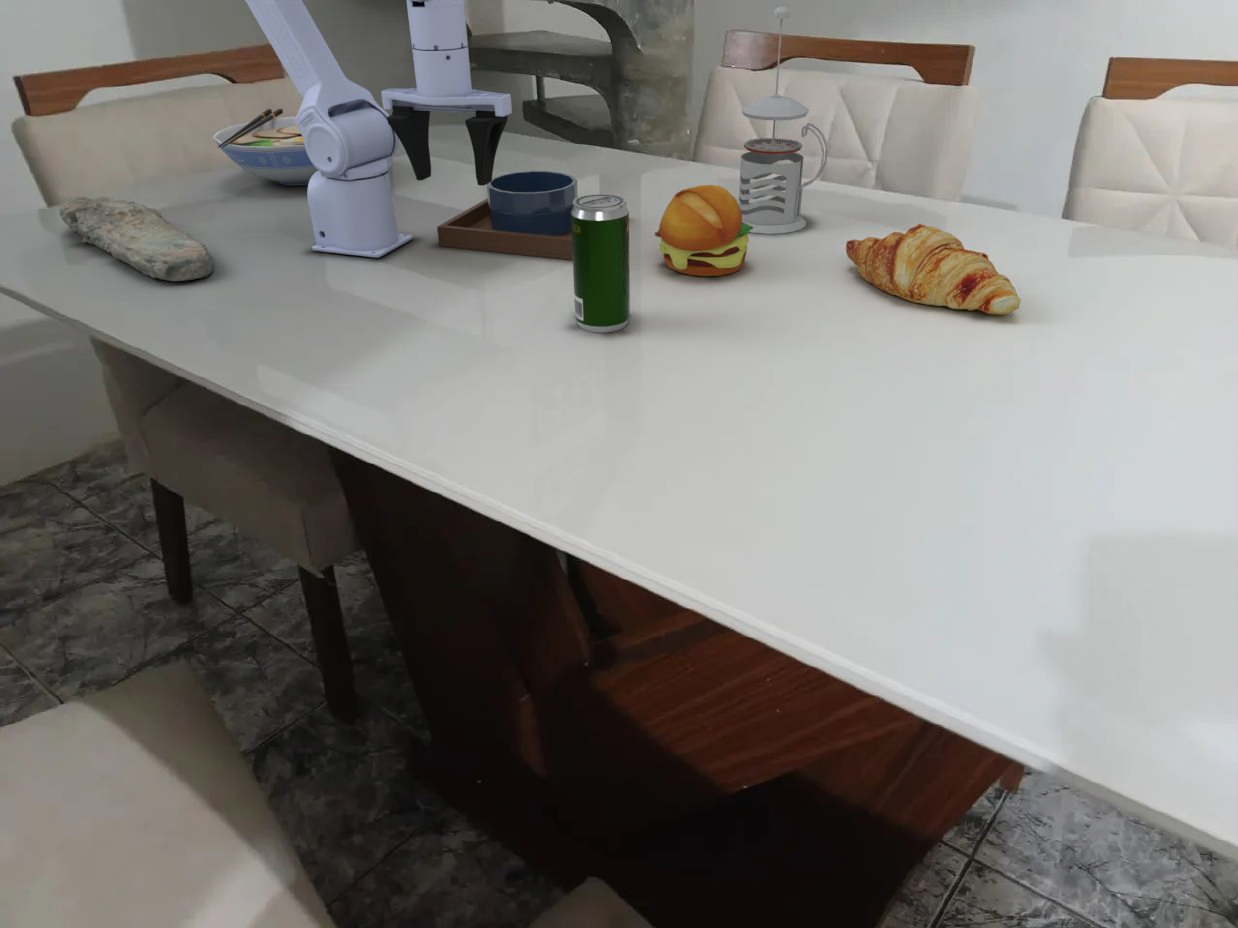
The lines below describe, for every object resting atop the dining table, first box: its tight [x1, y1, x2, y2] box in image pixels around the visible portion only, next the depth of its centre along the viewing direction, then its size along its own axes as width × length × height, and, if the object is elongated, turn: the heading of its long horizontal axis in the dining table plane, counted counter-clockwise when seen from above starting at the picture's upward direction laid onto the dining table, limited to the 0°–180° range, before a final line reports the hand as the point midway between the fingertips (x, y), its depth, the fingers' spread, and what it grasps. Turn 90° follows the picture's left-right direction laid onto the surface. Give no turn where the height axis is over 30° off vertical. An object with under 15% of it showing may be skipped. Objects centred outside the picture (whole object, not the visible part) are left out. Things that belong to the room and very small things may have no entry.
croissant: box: [845, 223, 1021, 315], centre depth 96 cm, size 21×10×8 cm, turn 39°
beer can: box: [571, 193, 631, 334], centre depth 89 cm, size 5×5×12 cm
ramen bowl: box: [212, 108, 319, 186], centre depth 140 cm, size 25×23×8 cm
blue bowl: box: [486, 170, 579, 236], centre depth 117 cm, size 11×11×6 cm
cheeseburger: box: [654, 184, 753, 277], centre depth 103 cm, size 10×11×10 cm
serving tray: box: [436, 197, 573, 261], centre depth 117 cm, size 18×17×2 cm
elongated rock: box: [59, 195, 213, 282], centre depth 113 cm, size 35×5×10 cm
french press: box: [737, 6, 829, 235], centre depth 113 cm, size 10×12×25 cm
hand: (454, 180), depth 103 cm, fingers open, 7 cm apart
